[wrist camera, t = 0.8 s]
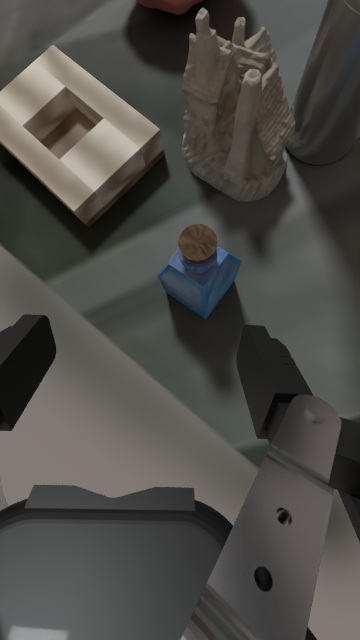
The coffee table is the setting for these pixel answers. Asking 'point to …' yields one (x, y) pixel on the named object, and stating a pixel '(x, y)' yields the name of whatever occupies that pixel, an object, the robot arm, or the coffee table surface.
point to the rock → (235, 112)
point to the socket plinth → (76, 135)
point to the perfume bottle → (199, 270)
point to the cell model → (170, 5)
